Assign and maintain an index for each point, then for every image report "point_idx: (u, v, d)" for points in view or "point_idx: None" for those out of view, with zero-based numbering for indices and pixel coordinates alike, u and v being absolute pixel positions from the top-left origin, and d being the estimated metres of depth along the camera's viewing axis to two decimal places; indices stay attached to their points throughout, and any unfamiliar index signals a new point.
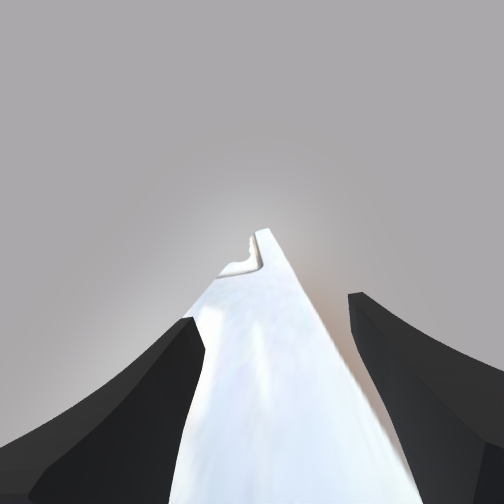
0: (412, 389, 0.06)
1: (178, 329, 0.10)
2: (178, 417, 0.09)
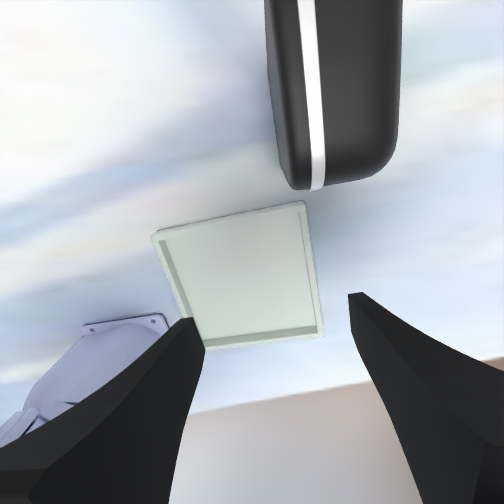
0: (412, 389, 0.06)
1: (178, 329, 0.10)
2: (178, 417, 0.09)
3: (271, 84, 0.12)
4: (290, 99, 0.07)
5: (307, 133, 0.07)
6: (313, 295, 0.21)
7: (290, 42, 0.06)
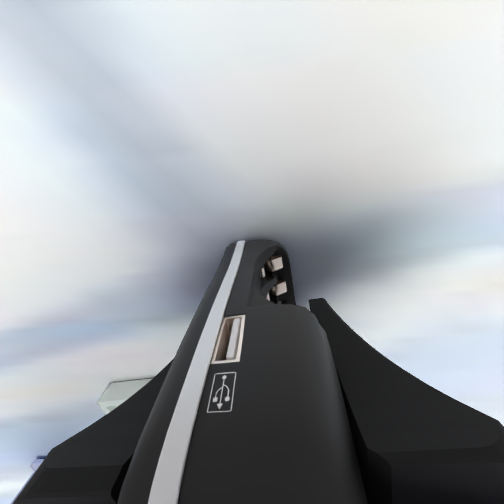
0: None
1: None
2: None
3: None
4: None
5: None
6: None
7: None
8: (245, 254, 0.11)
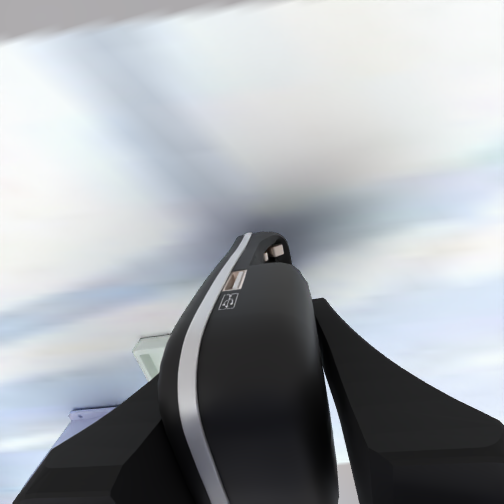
0: (342, 395, 0.06)
1: None
2: None
3: None
4: (196, 499, 0.06)
5: None
6: None
7: (186, 464, 0.05)
8: (251, 240, 0.13)
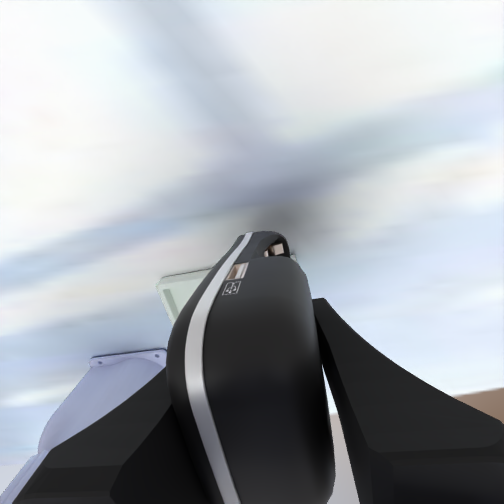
0: (342, 395, 0.06)
1: None
2: None
3: None
4: (199, 473, 0.06)
5: (223, 498, 0.06)
6: None
7: (191, 436, 0.06)
8: (252, 239, 0.14)
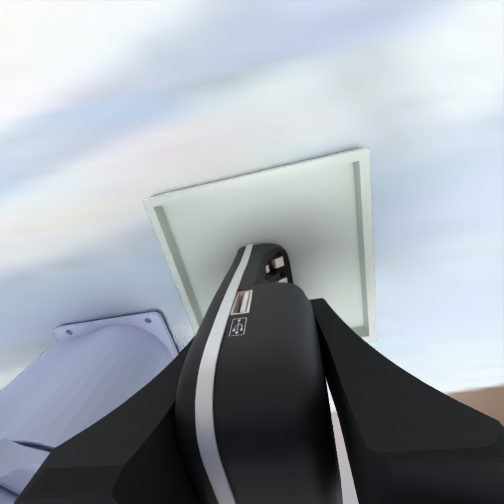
0: (341, 395, 0.06)
1: None
2: None
3: None
4: None
5: None
6: (368, 284, 0.15)
7: (203, 486, 0.06)
8: (253, 253, 0.14)
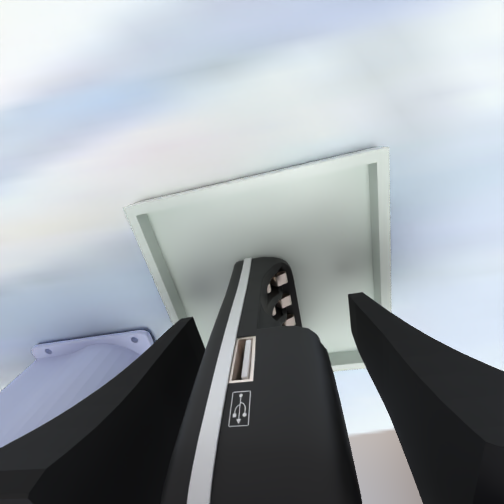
0: (412, 389, 0.06)
1: (178, 329, 0.10)
2: (178, 417, 0.09)
3: None
4: None
5: None
6: (383, 304, 0.13)
7: None
8: (252, 272, 0.12)
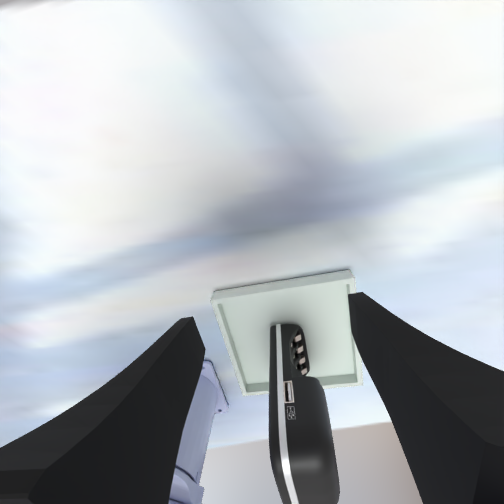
0: (412, 389, 0.06)
1: (178, 329, 0.10)
2: (178, 417, 0.09)
3: None
4: (283, 499, 0.14)
5: None
6: (356, 351, 0.23)
7: (282, 487, 0.14)
8: (282, 336, 0.21)
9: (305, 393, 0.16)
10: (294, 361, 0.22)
